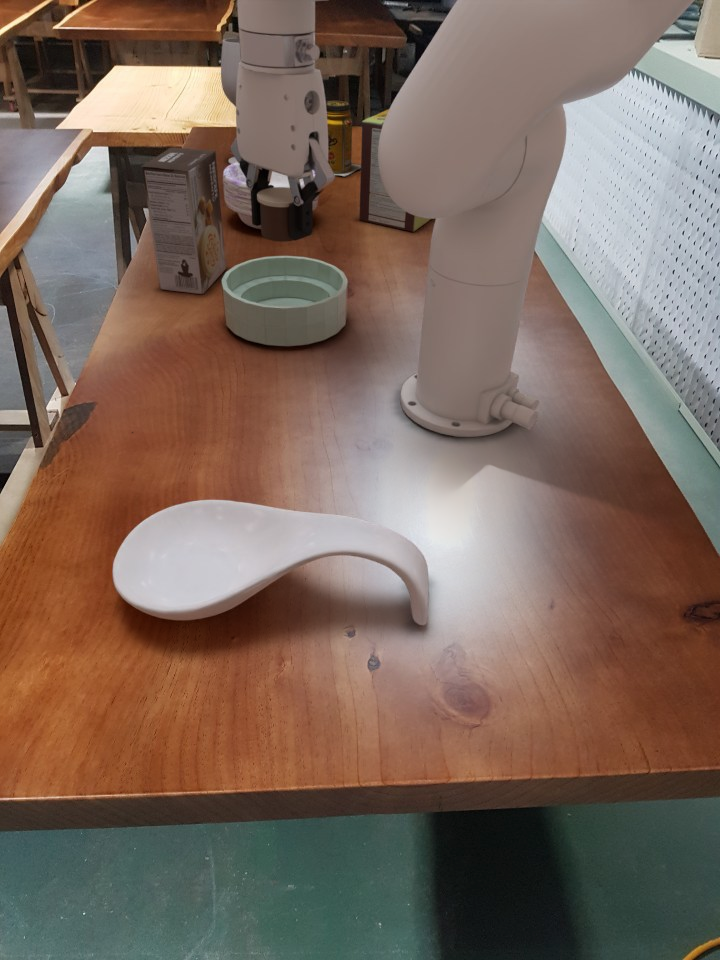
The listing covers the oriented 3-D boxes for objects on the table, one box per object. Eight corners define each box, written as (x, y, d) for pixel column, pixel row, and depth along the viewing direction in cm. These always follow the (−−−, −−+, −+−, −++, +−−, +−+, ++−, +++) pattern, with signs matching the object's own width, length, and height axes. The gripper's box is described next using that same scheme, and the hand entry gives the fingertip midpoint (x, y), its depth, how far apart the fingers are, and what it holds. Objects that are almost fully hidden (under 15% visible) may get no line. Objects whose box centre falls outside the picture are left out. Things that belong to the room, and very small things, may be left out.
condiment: (312, 171, 140) (311, 103, 133) (333, 161, 146) (333, 96, 139) (344, 177, 138) (346, 109, 130) (364, 167, 144) (367, 101, 136)
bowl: (370, 320, 91) (372, 280, 88) (286, 364, 82) (285, 320, 79) (286, 285, 99) (284, 246, 95) (200, 321, 89) (195, 280, 86)
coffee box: (185, 264, 103) (170, 145, 93) (227, 269, 102) (217, 149, 92) (158, 290, 96) (140, 164, 86) (203, 295, 95) (190, 169, 85)
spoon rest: (97, 640, 51) (76, 570, 47) (147, 528, 60) (133, 461, 56) (427, 666, 50) (438, 599, 46) (427, 549, 59) (436, 483, 55)
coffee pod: (314, 234, 84) (314, 195, 81) (281, 246, 81) (280, 206, 78) (282, 222, 86) (281, 184, 84) (249, 233, 83) (246, 194, 80)
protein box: (449, 206, 127) (460, 110, 117) (413, 233, 116) (422, 129, 106) (396, 195, 130) (402, 101, 121) (357, 220, 120) (360, 119, 110)
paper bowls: (331, 232, 115) (332, 181, 110) (239, 242, 110) (235, 189, 105) (302, 202, 126) (301, 154, 121) (216, 210, 121) (212, 160, 116)
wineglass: (272, 160, 145) (268, 40, 131) (249, 169, 140) (242, 45, 126) (243, 154, 148) (236, 35, 134) (219, 162, 143) (209, 40, 129)
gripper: (366, 60, 70) (358, 241, 81) (246, 35, 78) (255, 204, 90) (314, 68, 65) (313, 260, 77) (192, 42, 73) (208, 218, 85)
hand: (282, 228), depth 83 cm, fingers closed on coffee pod, 5 cm apart
